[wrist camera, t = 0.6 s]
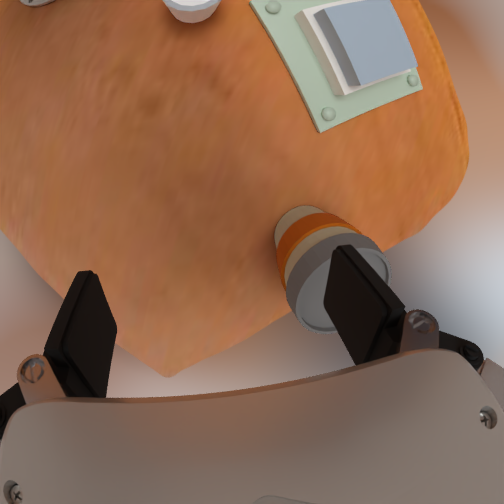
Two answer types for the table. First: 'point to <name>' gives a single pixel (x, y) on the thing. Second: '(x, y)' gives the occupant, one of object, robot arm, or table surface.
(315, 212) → the reusable coffee cup
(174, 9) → the white tapered cup
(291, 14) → the stepped tiered stack
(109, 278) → the table surface
